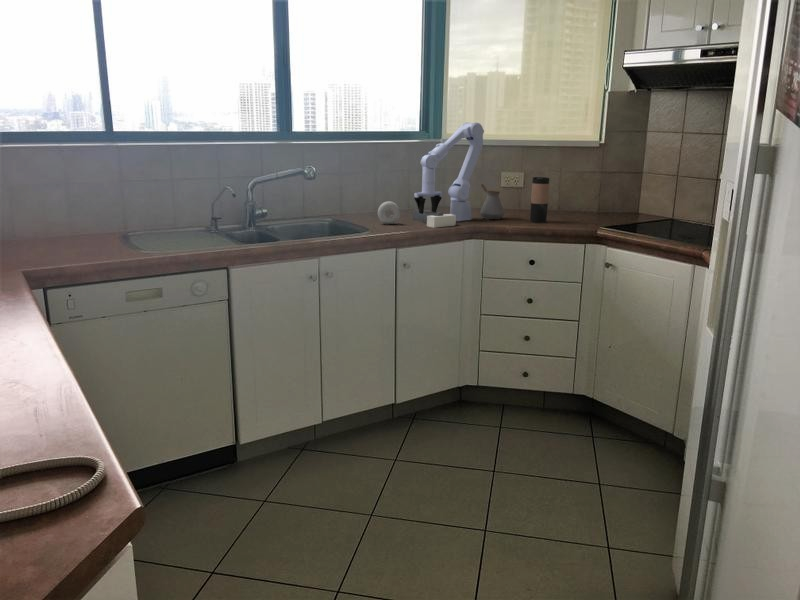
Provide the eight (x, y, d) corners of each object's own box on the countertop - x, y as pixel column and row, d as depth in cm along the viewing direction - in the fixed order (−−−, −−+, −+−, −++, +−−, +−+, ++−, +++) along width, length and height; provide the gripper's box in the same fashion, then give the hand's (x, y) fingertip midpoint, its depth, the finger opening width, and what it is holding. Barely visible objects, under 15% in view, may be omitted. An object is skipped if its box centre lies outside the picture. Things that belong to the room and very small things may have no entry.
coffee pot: (508, 220, 311) (509, 187, 307) (484, 220, 308) (486, 187, 304) (490, 214, 331) (492, 183, 327) (469, 214, 328) (470, 183, 324)
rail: (418, 219, 309) (419, 208, 308) (442, 223, 298) (442, 212, 296) (413, 220, 307) (413, 209, 306) (436, 224, 295) (437, 213, 294)
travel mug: (545, 221, 309) (548, 177, 304) (547, 223, 302) (550, 178, 297) (528, 220, 310) (531, 176, 305) (530, 222, 303) (533, 178, 298)
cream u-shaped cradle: (448, 224, 295) (448, 213, 294) (455, 225, 292) (455, 215, 291) (426, 226, 288) (427, 215, 286) (434, 227, 284) (434, 217, 283)
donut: (398, 223, 295) (399, 200, 293) (400, 224, 292) (401, 201, 290) (376, 223, 293) (376, 201, 290) (378, 225, 290) (378, 201, 287)
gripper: (434, 181, 305) (433, 210, 309) (410, 182, 296) (409, 212, 300) (445, 182, 300) (444, 212, 303) (420, 183, 291) (419, 214, 295)
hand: (427, 212), depth 301 cm, fingers open, 7 cm apart
